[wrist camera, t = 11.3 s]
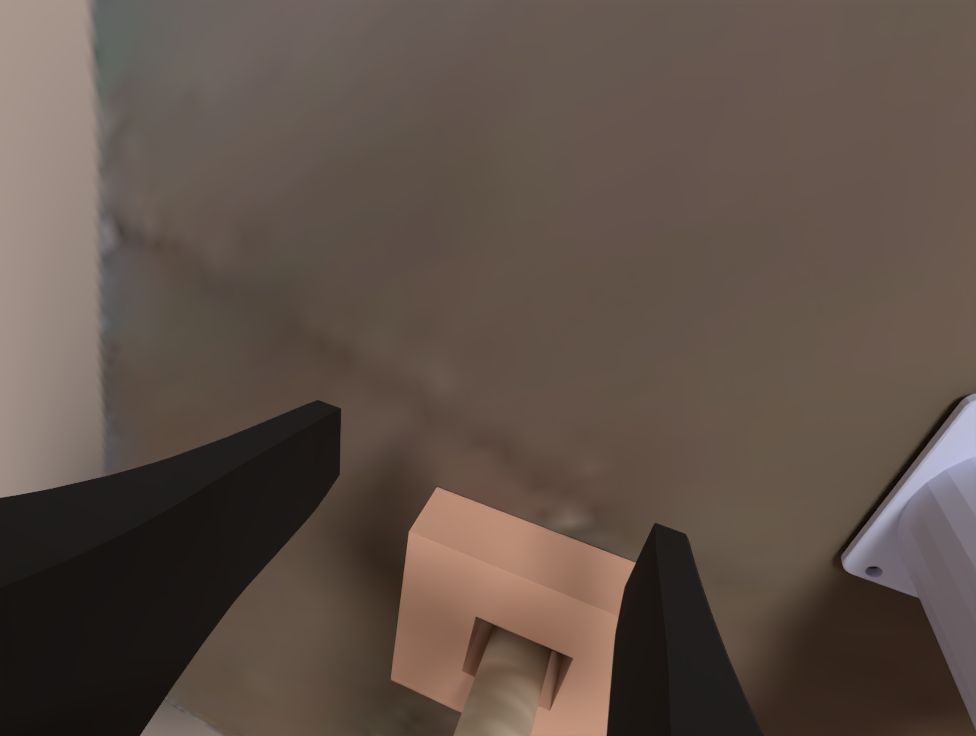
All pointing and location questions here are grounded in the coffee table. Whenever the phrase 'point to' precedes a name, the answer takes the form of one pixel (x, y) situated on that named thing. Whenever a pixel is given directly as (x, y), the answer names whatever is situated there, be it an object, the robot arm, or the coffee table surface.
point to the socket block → (508, 609)
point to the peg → (505, 687)
